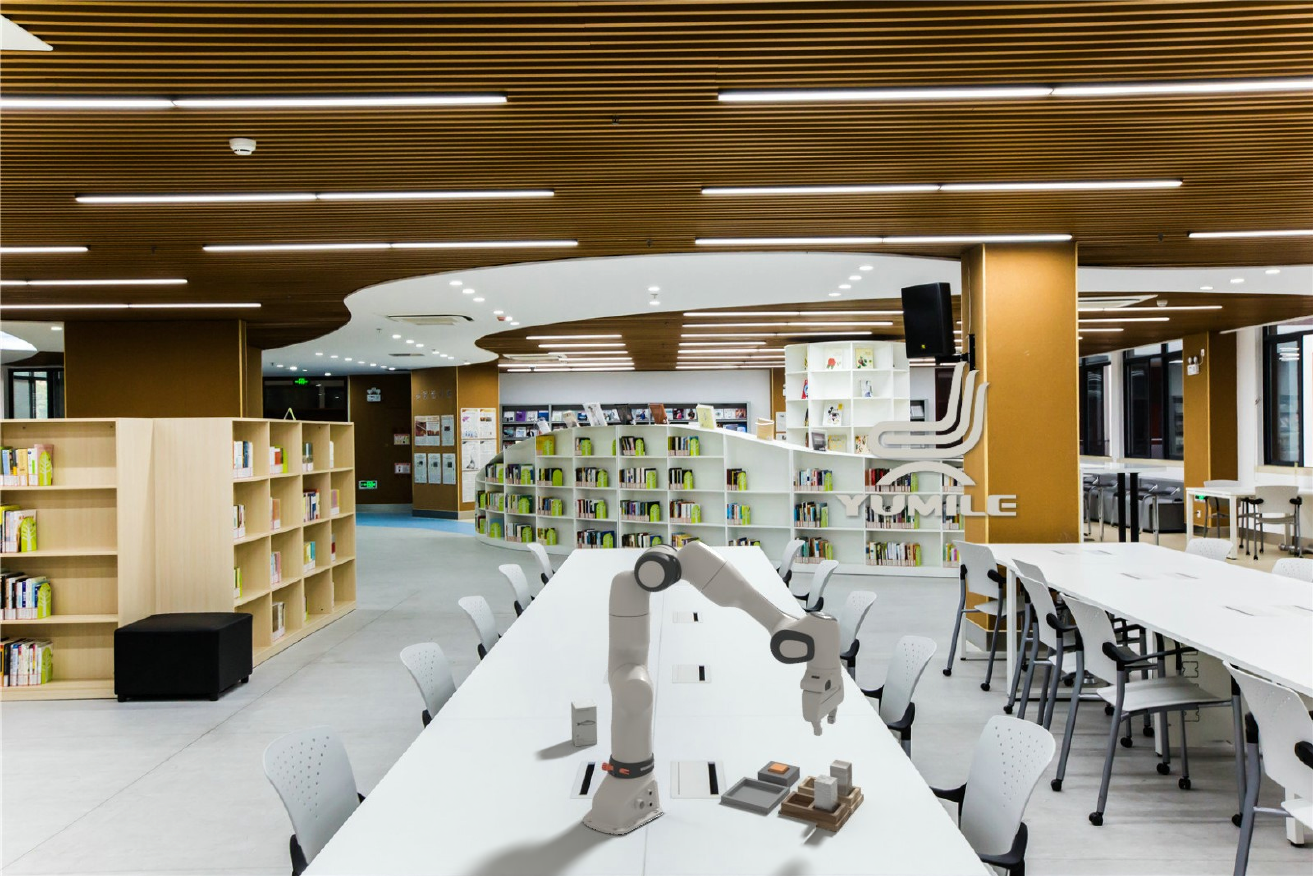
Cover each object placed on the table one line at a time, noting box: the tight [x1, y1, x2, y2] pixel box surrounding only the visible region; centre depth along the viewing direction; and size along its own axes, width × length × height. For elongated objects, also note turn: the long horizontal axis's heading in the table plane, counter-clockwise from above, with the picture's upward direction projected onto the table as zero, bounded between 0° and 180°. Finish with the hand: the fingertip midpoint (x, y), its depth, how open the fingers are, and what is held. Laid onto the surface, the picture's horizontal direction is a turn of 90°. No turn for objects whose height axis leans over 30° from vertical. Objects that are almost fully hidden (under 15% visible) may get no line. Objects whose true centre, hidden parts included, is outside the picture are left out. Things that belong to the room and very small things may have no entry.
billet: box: [814, 774, 838, 814], centre depth 209 cm, size 4×5×9 cm
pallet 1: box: [797, 759, 865, 815], centre depth 220 cm, size 10×16×10 cm, turn 57°
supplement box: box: [570, 699, 598, 747], centre depth 265 cm, size 7×7×13 cm
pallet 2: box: [777, 790, 851, 833], centre depth 210 cm, size 10×16×4 cm, turn 57°
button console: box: [757, 760, 801, 788], centre depth 230 cm, size 9×9×4 cm
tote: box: [720, 776, 791, 815], centre depth 220 cm, size 14×14×2 cm
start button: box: [769, 763, 788, 775], centre depth 230 cm, size 4×4×3 cm
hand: (824, 729), depth 208 cm, fingers open, 8 cm apart
